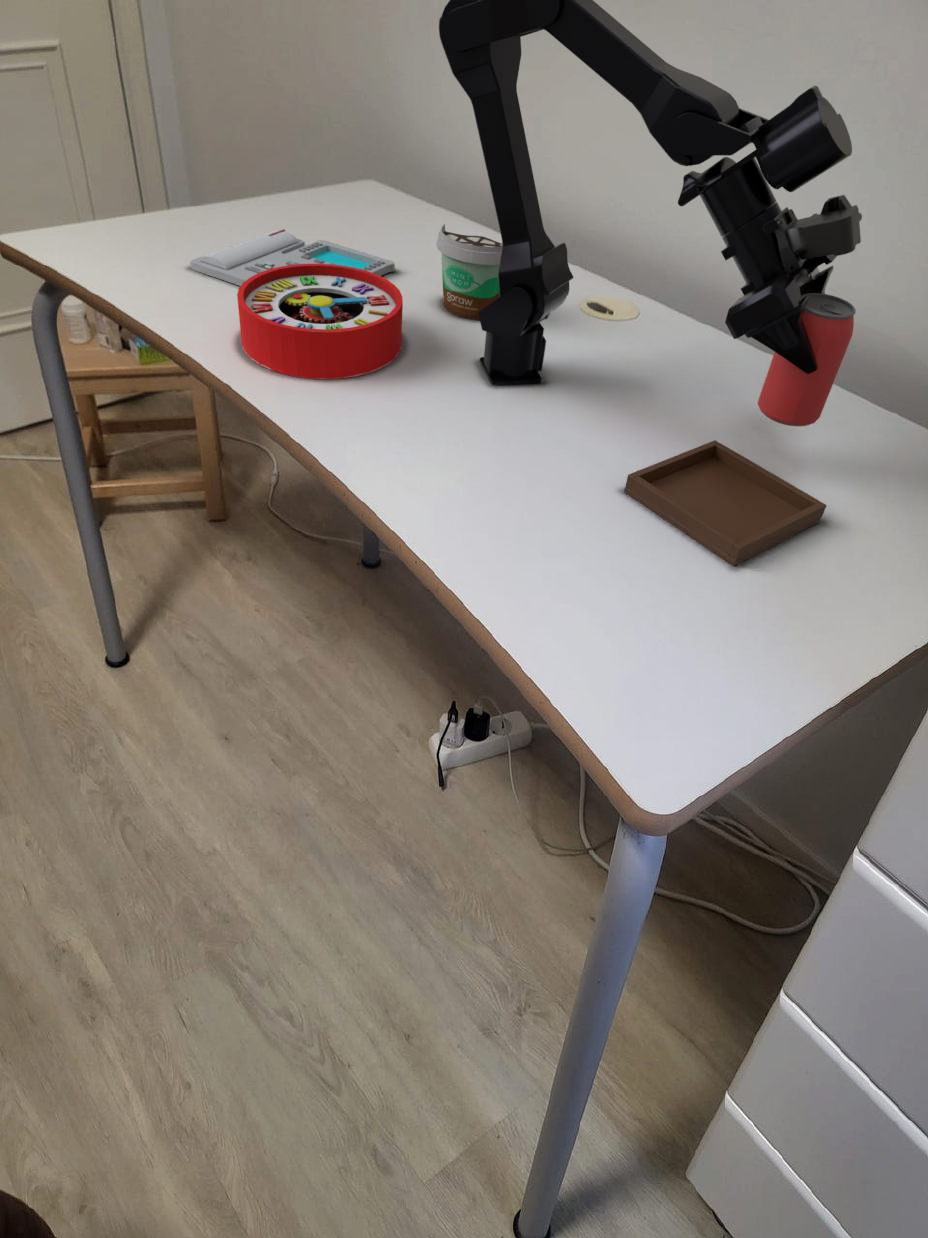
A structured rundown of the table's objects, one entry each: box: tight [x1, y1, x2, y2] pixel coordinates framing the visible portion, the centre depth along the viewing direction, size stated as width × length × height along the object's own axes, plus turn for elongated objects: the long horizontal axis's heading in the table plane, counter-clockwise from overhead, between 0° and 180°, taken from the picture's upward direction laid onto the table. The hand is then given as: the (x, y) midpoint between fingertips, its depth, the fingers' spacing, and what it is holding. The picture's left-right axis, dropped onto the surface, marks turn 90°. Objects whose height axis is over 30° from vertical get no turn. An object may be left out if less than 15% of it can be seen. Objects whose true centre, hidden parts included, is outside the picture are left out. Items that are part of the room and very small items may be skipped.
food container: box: [435, 223, 502, 321], centre depth 119 cm, size 12×6×10 cm, turn 68°
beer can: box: [757, 293, 856, 427], centre depth 90 cm, size 7×7×12 cm
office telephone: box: [189, 228, 396, 287], centre depth 128 cm, size 23×3×20 cm
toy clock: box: [236, 264, 404, 380], centre depth 110 cm, size 20×6×20 cm
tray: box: [623, 439, 827, 567], centre depth 89 cm, size 15×14×2 cm
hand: (821, 359), depth 90 cm, fingers closed on beer can, 6 cm apart
